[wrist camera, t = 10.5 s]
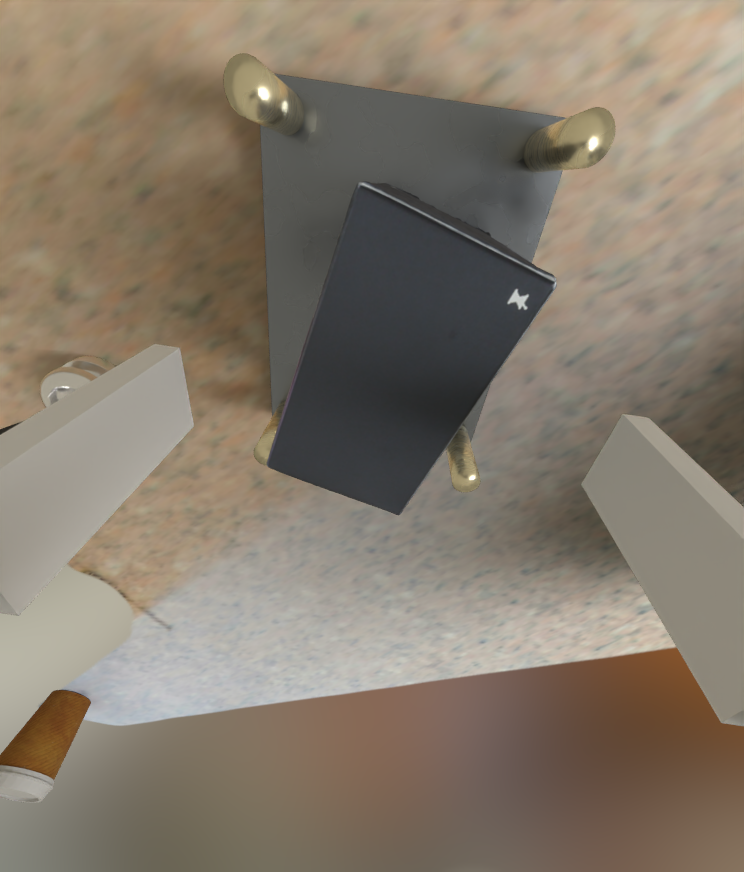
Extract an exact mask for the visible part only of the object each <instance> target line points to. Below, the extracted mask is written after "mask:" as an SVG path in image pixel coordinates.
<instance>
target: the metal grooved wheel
mask: <svg viewBox="0 0 744 872" xmlns="http://www.w3.org/2000/svg"><path fill="white" fill-rule="evenodd" d="M114 367H116V366H115V365H114V364H112V363H110V362H108V361H106V360H104V359H102V358H98V357H94V356H81V357H77V358H75V359H73V360H71V361H70V362H68V363H66V364H64V365H63V366H62V367H60V368H57V369H54V370H53V371H51V372H49V373H48V374H46V375H45V376H44V378H43V379H42V381H41V384H40V396H41V400H42V402H43V404H44V406H45V407H46V408H47V407H48V406H50V405H52V404H53V403H55V402H57V401H58V400H60V399H62V398H64V397H65V396H67V395H69V394H70V393H72V392H74V391H75V390H77V389H79V388H80V387H82V386H84V385H86V384H87V383H89V382H91V381H92V380H94V379H96V378H97V377H99V376H101V375H102V374H104V373H106V372H108V371H109V370H111V369H113V368H114Z"/></svg>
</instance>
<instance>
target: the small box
mask: <svg viewBox="0 0 744 872" xmlns="http://www.w3.org/2000/svg"><path fill="white" fill-rule="evenodd" d="M555 288H556V278H555V277H554V276H553V275H552V274H550V273H548V272H546V271H544V270H542V269H540V268H538V267H536V266H535V265H534V264H532V263H531V262H529V261H527V260H526V259H524V258H523V257H521V256H520V255H519V254H517V253H515V252H514V251H512V250H511V249H510V248H508V247H506V246H505V245H504V244H502V243H500V242H498V241H497V240H495V239H493V238H492V237H491V234H490V233H489V232H486V233H485V232H484V231H483V230H482V229H479V228H474V227H472V226H470V225H468V224H467V223H466V222H463V221H461V219H459V218H454V217H452V216H450V215H449V214H446V213H445V212H442V211H440V210H438V209H436V208H435V207H434V206H432V205H429V204H427V203H425V202H423V201H421V200H420V199H419V197H417V196H415V195H412V194H411V193H408V192H406V191H404V190H400V189H398V188H396V187H393V186H391V185H389V184H386V183H383V184H381V183H370V182H367V181H363V182H359V183H358V184H357V186H356V188H355V190H354V193H353V195H352V198H351V201H350V204H349V208H348V211H347V214H346V217H345V220H344V223H343V226H342V229H341V232H340V235H339V238H338V241H337V244H336V248H335V251H334V254H333V257H332V260H331V263H330V266H329V269H328V272H327V275H326V278H325V282H324V285H323V288H322V291H321V294H320V297H319V300H318V303H317V306H316V309H315V312H314V315H313V318H312V321H311V324H310V327H309V330H308V333H307V336H306V339H305V342H304V346H303V349H302V352H301V355H300V358H299V361H298V365H297V368H296V371H295V374H294V377H293V380H292V383H291V387H290V390H289V393H288V396H287V399H286V402H285V406H284V409H283V412H282V415H281V418H280V421H279V425H278V428H277V431H276V434H275V437H274V440H273V444H272V447H271V450H270V453H269V457H268V460H267V466H268V467H269V468H271V469H274V470H276V471H279V472H281V473H284V474H286V475H289V476H291V477H294V478H297V479H300V480H302V481H305V482H308V483H311V484H313V485H316V486H319V487H322V488H325V489H327V490H330V491H333V492H336V493H339V494H342V495H344V496H347V497H350V498H352V499H355V500H358V501H361V502H364V503H366V504H369V505H372V506H375V507H378V508H381V509H383V510H386V511H389V512H391V513H394V514H396V515H400V514H401V513H402V511H403V510H404V508H405V507H406V505H407V504H408V503H409V501H410V500H411V498H412V497H413V495H414V494H415V493H416V491H417V490H418V488H419V487H420V485H421V484H422V482H423V481H424V479H425V478H426V477H427V475H428V474H429V472H430V471H431V469H432V468H433V466H434V465H435V463H436V462H437V461H438V459H439V458H440V456H441V455H442V453H443V452H444V450H445V449H446V448H447V446H448V445H449V443H450V442H451V440H452V439H453V437H454V436H455V435H456V433H457V432H458V430H459V429H460V427H461V426H462V424H463V423H464V421H465V420H466V418H467V417H468V416H469V414H470V413H471V411H472V410H473V408H474V407H475V405H476V404H477V402H478V401H479V399H480V398H481V396H482V395H483V393H484V392H485V391H486V389H487V388H488V386H489V385H490V384H491V382H492V381H493V379H494V378H495V376H496V375H497V373H498V372H499V370H500V369H501V367H502V366H503V364H504V363H505V362H506V360H507V359H508V357H509V356H510V355H511V353H512V352H513V350H514V349H515V347H516V346H517V344H518V343H519V341H520V340H521V338H522V337H523V335H524V334H525V332H526V331H527V330H528V328H529V327H530V325H531V323H532V322H533V320H534V319H535V318H536V316H537V315H538V313H539V312H540V310H541V309H542V307H543V306H544V304H545V303H546V301H547V300H548V299H549V297H550V296H551V294H552V293H553V291H554V290H555Z"/></svg>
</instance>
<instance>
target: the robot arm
mask: <svg viewBox="0 0 744 872" xmlns="http://www.w3.org/2000/svg"><path fill="white" fill-rule="evenodd" d="M193 427H194V423H193V417H192V412H191V406H190V401H189V395H188V390H187V384H186V379H185V373H184V368H183V362H182V357H181V351H180V348H178V347H171V346H165V345H158V344H153V345H151V346H150V347H148V348H146V349H145V350H143V351H141V352H140V353H138V354H136V355H135V356H133V357H131V358H130V359H128V360H126V361H124V362H123V363H121V364H119V365H118V366H116V367H114V368H113V369H111V370H109V371H108V372H106V373H104V374H102V375H101V376H99V377H97V378H96V379H94V380H92V381H91V382H89V383H87V384H86V385H84V386H82V387H80V388H79V389H77V390H75V391H74V392H72V393H70V394H69V395H67V396H65V397H64V398H62V399H60V400H58V401H57V402H55V403H53V404H52V405H50V406H48V407H47V408H45V409H43V410H42V411H40V412H38V413H37V414H35V415H33V416H31V417H30V418H28V419H26V420H25V421H22V422H20V423H17V424H14V425H11V426H9V427H6V428H3V429H0V613H3V614H10V615H17V616H19V615H20V614H21V613H22V612H23V611H24V610H25V609H26V607H27V606H28V605H29V604H30V603H31V602H32V601H33V600H34V599H35V598H36V597H37V596H38V594H39V593H40V592H41V591H42V590H43V589H44V588H45V587H46V586H47V585H48V584H49V583H50V581H51V580H52V579H53V578H54V577H55V576H56V575H57V574H58V573H59V572H60V570H62V568H63V567H64V566H65V565H66V564H67V563H68V562H69V561H70V560H71V559H72V558H73V557H74V556H75V554H76V553H77V552H78V551H79V550H80V549H81V548H82V547H83V546H84V545H85V544H86V543H87V541H88V540H89V539H90V538H91V537H92V536H93V535H94V534H95V533H96V532H97V531H98V530H99V528H100V527H101V526H102V525H103V524H104V523H105V522H106V521H107V520H108V519H109V518H110V517H111V515H112V514H113V513H114V512H115V511H116V510H117V509H118V508H119V507H120V506H121V505H122V504H123V503H124V501H125V500H126V499H127V498H128V497H129V496H130V495H131V494H132V493H133V492H134V491H135V490H136V488H137V487H138V486H139V485H140V484H141V483H142V482H143V481H144V480H145V479H146V478H147V477H148V475H149V474H150V473H151V472H152V471H153V470H154V469H155V468H156V467H157V466H158V465H159V464H160V462H161V461H162V460H163V459H164V458H165V457H166V456H167V455H168V454H169V453H170V452H171V451H172V449H173V448H174V447H175V446H176V445H177V444H178V443H179V442H180V441H181V440H182V439H183V438H184V437H185V435H186V434H187V433H188V432H189V431H190V430H191V429H192V428H193ZM581 485H582V487H583V488H584V490H585V492H586V493H587V495H588V497H589V499H590V500H591V502H592V504H593V505H594V507H595V509H596V510H597V512H598V514H599V516H600V517H601V519H602V521H603V522H604V524H605V526H606V527H607V529H608V531H609V533H610V534H611V536H612V538H613V539H614V541H615V543H616V544H617V546H618V548H619V550H620V551H621V553H622V555H623V556H624V558H625V560H626V562H627V563H628V565H629V567H630V568H631V570H632V572H633V573H634V575H635V577H636V579H637V580H638V582H639V584H640V585H641V587H642V589H643V590H644V592H645V594H646V596H647V597H648V599H649V601H650V602H651V604H652V606H653V607H654V609H655V611H656V613H657V614H658V616H659V618H660V619H661V621H662V623H663V625H664V626H665V628H666V630H667V631H668V633H669V635H670V636H671V638H672V640H673V642H674V643H675V645H676V647H677V648H678V650H679V652H680V653H681V655H682V657H683V659H684V660H685V662H686V664H687V665H688V667H689V669H690V670H691V672H692V674H693V675H694V677H695V679H696V680H697V682H698V684H699V686H700V687H701V689H702V691H703V693H704V694H705V696H706V697H707V699H708V701H709V703H710V705H711V706H712V708H713V710H714V711H715V713H716V715H717V716H718V718H719V720H720V722H721V723H726V724H733V725H739V726H744V507H743V506H742V505H741V504H740V503H739V502H738V501H736V500H735V499H734V498H733V497H732V496H731V495H730V494H729V493H728V492H727V491H726V490H725V489H724V488H723V487H722V486H721V485H719V484H718V483H717V482H716V481H715V480H714V479H713V478H712V477H711V476H710V475H709V474H708V473H707V472H706V471H705V470H704V469H703V468H701V467H700V466H699V465H698V464H697V463H696V462H695V461H694V460H693V459H692V458H691V457H690V456H689V455H688V454H687V453H686V452H684V451H683V450H682V449H681V448H680V447H679V446H678V445H677V444H676V443H675V442H674V441H673V440H672V439H671V438H670V437H669V436H668V435H666V434H665V433H664V432H663V431H662V430H661V429H660V428H659V427H658V426H657V425H656V424H655V423H654V422H653V421H652V420H651V419H649V418H648V417H641V416H634V415H627V414H622V416H621V417H620V419H619V421H618V422H617V424H616V426H615V428H614V429H613V431H612V433H611V434H610V436H609V438H608V439H607V441H606V443H605V444H604V446H603V448H602V450H601V451H600V453H599V455H598V456H597V458H596V460H595V461H594V463H593V465H592V466H591V468H590V470H589V472H588V473H587V475H586V477H585V478H584V480H583V482H582V483H581Z"/></svg>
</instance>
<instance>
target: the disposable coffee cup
mask: <svg viewBox="0 0 744 872" xmlns="http://www.w3.org/2000/svg"><path fill="white" fill-rule="evenodd" d="M90 704H91V702H90V700H89V699H88V698H86V697H85V696H83V695H80V694H78V693H75V692H71V691H66V690H56V691H53V692H52V693H51V694H50V695H49V697H48V698H47V699H46V700H45V702H44V703H43V704H42V705H41V706H40V708H39V709H38V710H37V711H36V712H35V714H34V715H33V716H32V717H31V718H30V720H29V721H28V722H27V723H26V724H25V726H24V727H23V728H22V729H21V731H20V732H19V733H18V734H17V735H16V736H15V738H14V739H13V740H12V741H11V742H10V744H9V745H8V746H7V747H6V749H5V750H4V751H3V752H2V753H1V755H0V798H4V799H8V800H14V801H21V802H41V801H42V800H43V798H44V797H45V796H46V795H47V793H48V792H49V791H51V790H52V789H53V784H54V779H55V777H56V775H57V773H58V770H59V768H60V767H61V764H62V762H63V760H64V758H65V756H66V754H67V752H68V750H69V748H70V746H71V743H72V741H73V739H74V737H75V735H76V733H77V731H78V729H79V727H80V724H81V722H82V720H83V718H84V716H85V714H86V712H87V710H88V708H89V706H90Z"/></svg>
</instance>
